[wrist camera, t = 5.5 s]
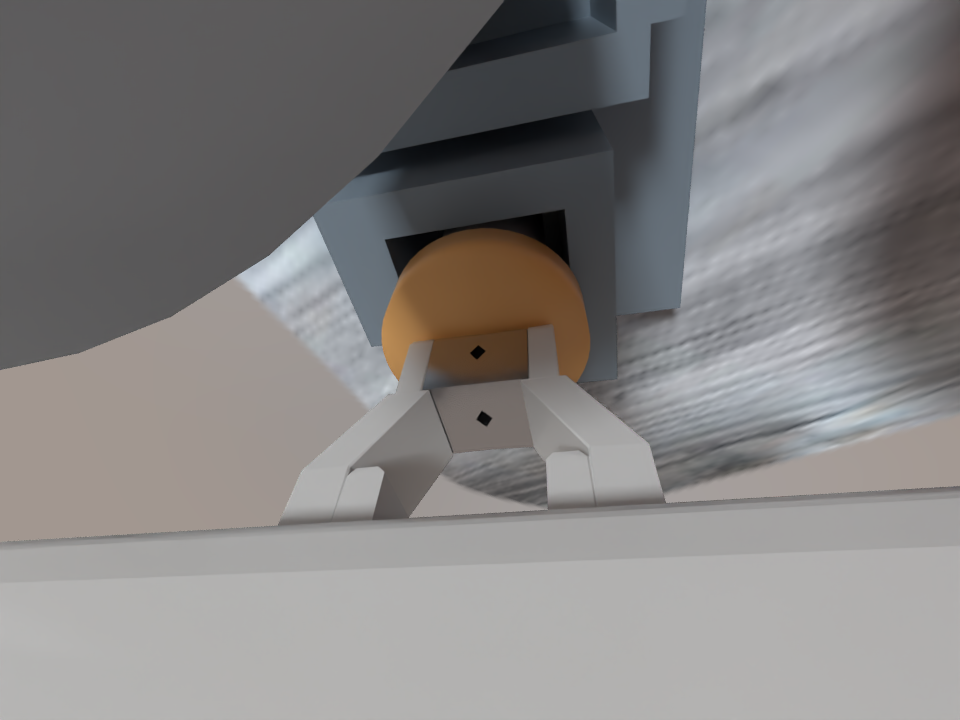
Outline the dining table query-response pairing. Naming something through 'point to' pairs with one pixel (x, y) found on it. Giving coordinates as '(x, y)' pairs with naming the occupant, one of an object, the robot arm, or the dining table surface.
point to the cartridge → (186, 143)
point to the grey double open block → (544, 158)
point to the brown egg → (488, 292)
